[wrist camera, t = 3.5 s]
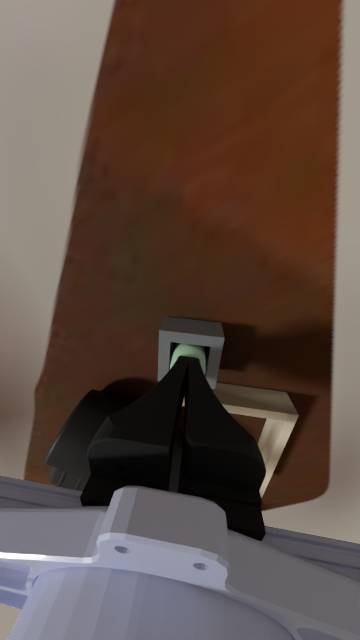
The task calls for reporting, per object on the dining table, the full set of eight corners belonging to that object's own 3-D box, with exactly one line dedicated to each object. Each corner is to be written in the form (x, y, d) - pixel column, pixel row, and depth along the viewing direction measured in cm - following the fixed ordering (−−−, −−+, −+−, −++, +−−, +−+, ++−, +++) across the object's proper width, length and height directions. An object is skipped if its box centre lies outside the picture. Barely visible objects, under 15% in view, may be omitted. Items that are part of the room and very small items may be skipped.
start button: (203, 359, 16) (203, 385, 13) (175, 355, 16) (169, 381, 13) (206, 334, 15) (207, 356, 12) (177, 330, 15) (170, 351, 12)
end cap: (193, 414, 19) (188, 498, 13) (162, 451, 22) (146, 534, 16) (102, 370, 18) (51, 437, 12) (83, 414, 21) (33, 487, 15)
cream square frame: (255, 470, 21) (261, 497, 19) (164, 455, 22) (160, 479, 20) (286, 392, 17) (298, 415, 14) (169, 376, 17) (164, 395, 15)
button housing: (213, 368, 16) (214, 389, 14) (163, 362, 17) (157, 381, 15) (221, 322, 15) (224, 337, 12) (166, 316, 15) (159, 330, 13)
